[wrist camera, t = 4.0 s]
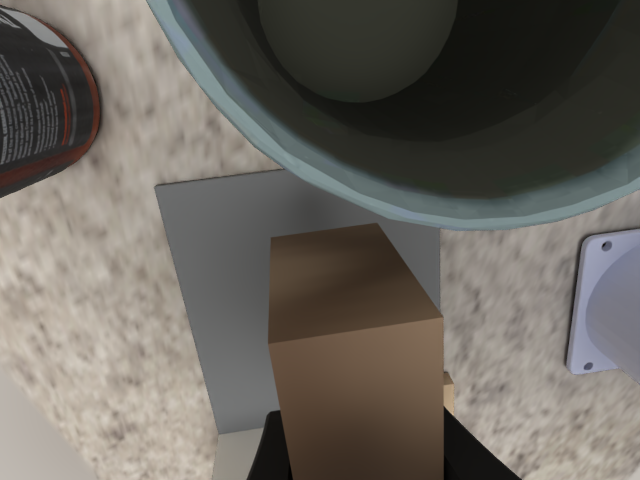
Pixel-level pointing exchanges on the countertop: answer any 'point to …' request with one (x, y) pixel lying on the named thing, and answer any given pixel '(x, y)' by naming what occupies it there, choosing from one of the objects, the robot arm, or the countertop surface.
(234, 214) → the mat
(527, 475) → the countertop surface
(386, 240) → the brown rectangular block
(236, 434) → the tile
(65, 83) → the supplement bottle
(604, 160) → the teal textured planter
